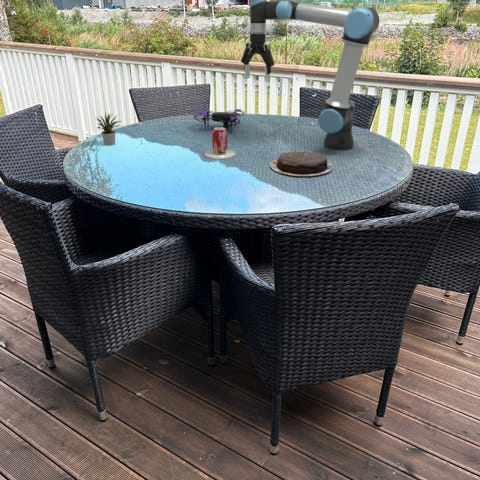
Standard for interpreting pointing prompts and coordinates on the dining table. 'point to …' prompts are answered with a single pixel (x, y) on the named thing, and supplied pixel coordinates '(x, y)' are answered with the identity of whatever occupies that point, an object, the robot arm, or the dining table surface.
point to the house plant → (108, 129)
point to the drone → (220, 118)
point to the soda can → (219, 140)
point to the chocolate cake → (301, 164)
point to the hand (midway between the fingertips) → (257, 79)
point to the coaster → (212, 155)
